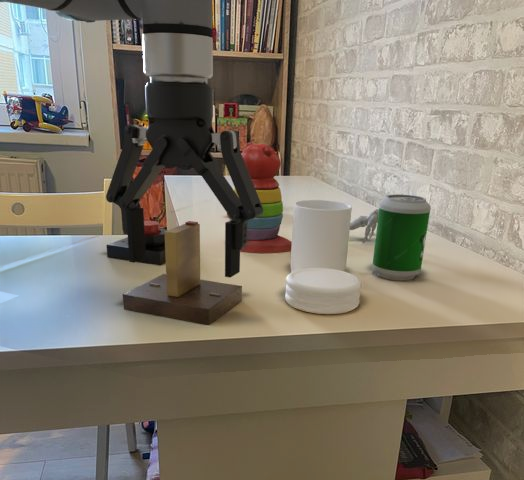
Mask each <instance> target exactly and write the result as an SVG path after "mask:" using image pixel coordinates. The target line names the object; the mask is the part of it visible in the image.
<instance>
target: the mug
mask: <svg viewBox="0 0 524 480" xmlns="http://www.w3.org/2000/svg"><path fill="white" fill-rule="evenodd" d="M352 211H353V206H352V205H351V204H350V203H347V202H343V201H337V200H330V199H329V200H327V199H303V200H298V201H295V202H293V212H292V213H293V215H292V229H291V230H292V231H291V242H292V246H291V250H290V273H291V272H293V271H296V270H300V269H307V268H327V269H335V270H340V271H344V272H346V270H347V269H346V268H347V262H348V261H347V260H348V251H349V240H350V231H351V230H350V223H351V222H352V221H351V220H352V219H351V218H352Z"/></svg>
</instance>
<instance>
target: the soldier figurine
mask: <svg viewBox="0 0 524 480" xmlns="http://www.w3.org/2000/svg"><path fill="white" fill-rule="evenodd" d="M378 215H379V208H376V209H375V210H373V211H372V212H370V213H369V214H368V215H360V216H358V217H357V218H355V219H354V220H353V221H350V231H355V230H357V229H360V228H365V231H364V237H363V239H362V240H361V244H365V243H366V242H367V241H368V237H369V239H371V238H372V237H373V236H374V234H375V230H376V229H377V223H378Z"/></svg>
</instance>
